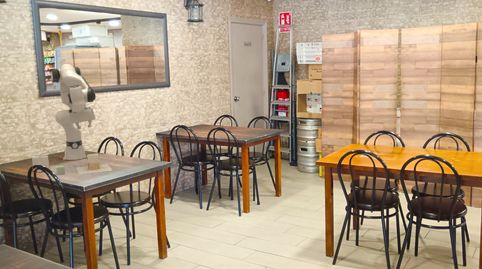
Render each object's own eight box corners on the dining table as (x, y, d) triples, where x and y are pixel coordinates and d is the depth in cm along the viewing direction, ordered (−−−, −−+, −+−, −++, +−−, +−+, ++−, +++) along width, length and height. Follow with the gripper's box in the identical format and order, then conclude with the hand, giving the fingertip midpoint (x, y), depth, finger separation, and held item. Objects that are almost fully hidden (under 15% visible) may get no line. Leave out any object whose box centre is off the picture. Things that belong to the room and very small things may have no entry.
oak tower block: (88, 168, 338) (87, 161, 337) (98, 167, 341) (97, 160, 340) (89, 170, 332) (88, 163, 331) (99, 169, 334) (99, 162, 334)
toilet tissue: (35, 173, 331) (33, 159, 330) (31, 170, 341) (29, 156, 339) (51, 170, 337) (50, 156, 336) (46, 167, 347) (45, 154, 345)
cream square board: (76, 168, 343) (75, 167, 343) (107, 164, 352) (107, 163, 351) (79, 175, 321) (79, 174, 321) (112, 171, 330) (112, 170, 330)
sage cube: (56, 173, 329) (56, 166, 328) (64, 172, 331) (63, 165, 330) (57, 174, 324) (56, 167, 324) (64, 173, 326) (64, 166, 326)
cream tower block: (87, 161, 337) (87, 154, 336) (97, 160, 340) (97, 153, 339) (88, 163, 331) (88, 156, 330) (99, 162, 334) (98, 155, 333)
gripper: (94, 105, 326) (99, 125, 328) (72, 109, 335) (76, 129, 337) (88, 107, 321) (93, 127, 322) (65, 111, 329) (70, 130, 331)
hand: (84, 128), depth 330 cm, fingers open, 8 cm apart
